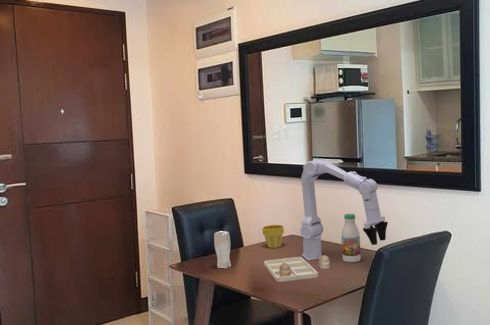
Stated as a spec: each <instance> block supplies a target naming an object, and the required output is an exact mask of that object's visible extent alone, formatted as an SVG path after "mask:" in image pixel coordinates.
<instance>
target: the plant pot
mask: <svg viewBox="0 0 490 325" xmlns="http://www.w3.org/2000/svg"><path fill="white" fill-rule="evenodd" d="M284 229H285V228H284V225H282V224H269V225H268V224H267V225H265V226H262V235H263V236H264V238H265V243H266V245H267V248H270V249H277V248H280V247H282V240H283V239H282V238H283V235H284V233H285V232H284V231H285V230H284Z"/></svg>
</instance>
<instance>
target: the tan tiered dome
mask: <svg viewBox="0 0 490 325" xmlns="http://www.w3.org/2000/svg"><path fill="white" fill-rule="evenodd" d="M279 273H280V277H286V276H291V269H290V266H289V265H288V264H286V263H284V264H282V265H281V266H280V268H279Z"/></svg>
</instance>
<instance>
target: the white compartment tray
mask: <svg viewBox="0 0 490 325" xmlns="http://www.w3.org/2000/svg"><path fill="white" fill-rule="evenodd" d="M284 263H286V264H288V265H289V266H290V269H291V276H286V277H280V273H279V268H280V266H281V265H282V264H284ZM263 265H264V266H265V269H266V270H268V272H269V273H270V275H271V276H272V277H273V279H274V280H275V281H276V283H282V282H291V281H299V280H307V279H316V278H319V277H320V276H319V275H320V274H319V272H318V271H317V270H316V269H315V268H314V267H313V266H312V265H311V264H310V263H309V262H308V261H307V260H306V259H305V258H304V257H303V256H295V257H285V258H277V259H268V260H263Z"/></svg>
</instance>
